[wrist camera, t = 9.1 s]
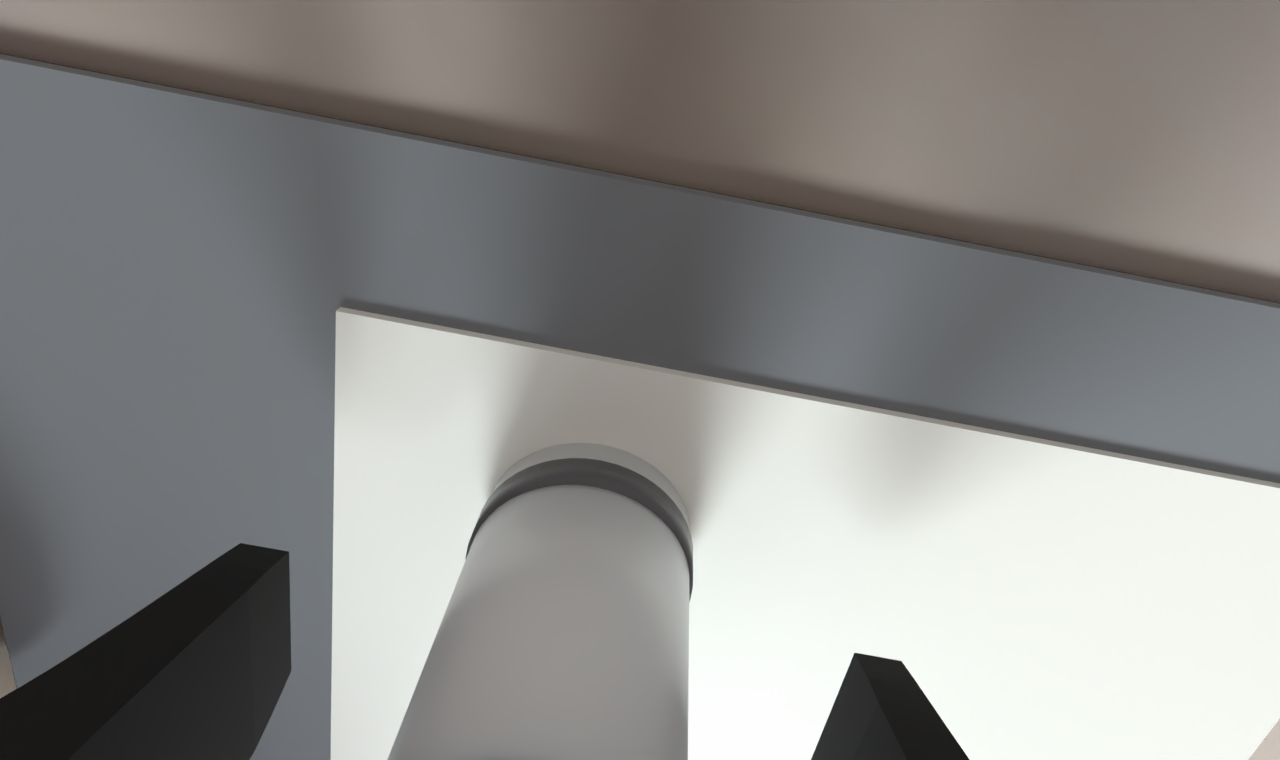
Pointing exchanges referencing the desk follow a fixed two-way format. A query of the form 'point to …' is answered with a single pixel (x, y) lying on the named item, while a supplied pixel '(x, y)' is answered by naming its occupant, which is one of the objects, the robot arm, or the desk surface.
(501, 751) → the marker
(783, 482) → the paper
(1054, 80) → the desk surface
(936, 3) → the desk surface
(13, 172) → the desk mat
